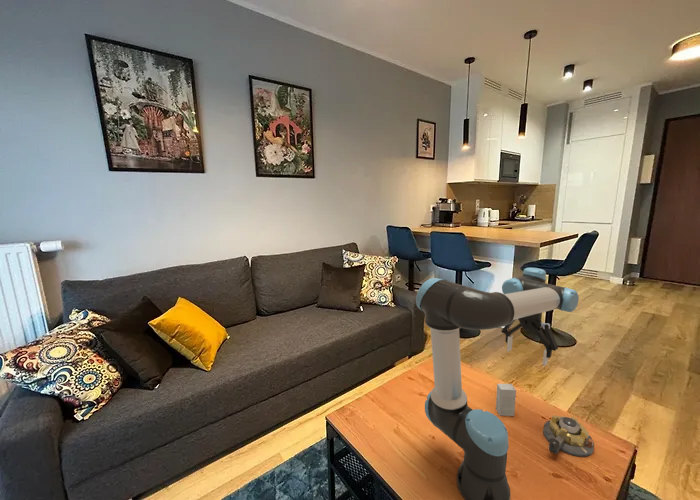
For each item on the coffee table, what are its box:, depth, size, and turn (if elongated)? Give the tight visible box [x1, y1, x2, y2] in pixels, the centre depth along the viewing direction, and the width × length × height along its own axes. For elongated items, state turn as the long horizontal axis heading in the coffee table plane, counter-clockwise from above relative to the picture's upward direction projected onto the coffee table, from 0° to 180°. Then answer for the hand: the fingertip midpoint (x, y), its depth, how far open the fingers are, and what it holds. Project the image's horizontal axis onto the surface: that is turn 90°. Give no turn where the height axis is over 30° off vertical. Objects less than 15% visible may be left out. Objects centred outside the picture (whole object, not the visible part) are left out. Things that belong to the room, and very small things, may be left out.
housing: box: [542, 416, 595, 458], centre depth 110 cm, size 15×15×8 cm
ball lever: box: [548, 414, 590, 455], centre depth 108 cm, size 19×11×4 cm, turn 126°
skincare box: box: [495, 383, 517, 417], centre depth 124 cm, size 6×4×12 cm
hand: (526, 357), depth 122 cm, fingers open, 13 cm apart
